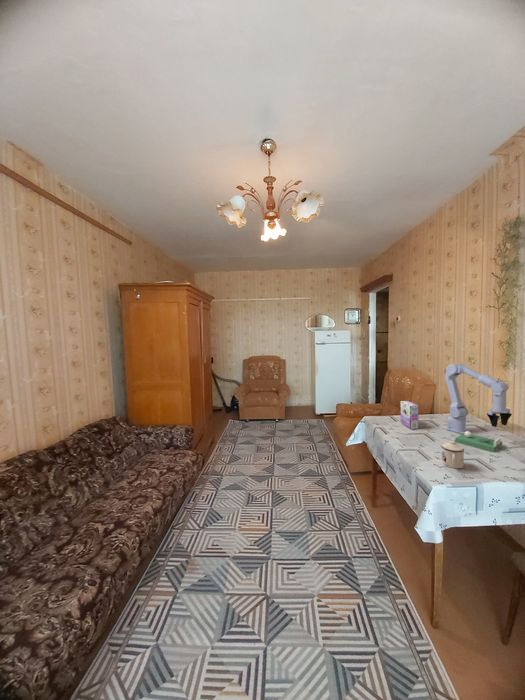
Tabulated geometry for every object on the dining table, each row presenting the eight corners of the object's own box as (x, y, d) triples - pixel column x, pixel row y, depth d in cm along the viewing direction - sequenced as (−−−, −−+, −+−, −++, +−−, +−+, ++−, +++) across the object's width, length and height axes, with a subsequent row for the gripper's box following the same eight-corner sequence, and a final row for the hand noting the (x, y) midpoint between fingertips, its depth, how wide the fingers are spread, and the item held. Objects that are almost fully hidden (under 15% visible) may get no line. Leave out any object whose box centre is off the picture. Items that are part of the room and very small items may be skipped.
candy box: (419, 429, 184) (418, 405, 183) (410, 429, 184) (410, 405, 184) (408, 422, 198) (408, 400, 197) (400, 423, 198) (400, 400, 197)
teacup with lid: (441, 459, 141) (441, 436, 140) (463, 462, 136) (463, 439, 136) (442, 469, 131) (442, 445, 130) (465, 473, 126) (465, 448, 125)
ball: (463, 437, 162) (463, 431, 162) (465, 435, 164) (465, 429, 164) (470, 438, 159) (470, 432, 159) (472, 437, 161) (472, 431, 161)
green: (455, 442, 161) (455, 434, 161) (464, 436, 169) (464, 428, 169) (495, 452, 146) (495, 443, 146) (503, 445, 154) (503, 437, 154)
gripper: (497, 405, 152) (497, 429, 153) (516, 403, 155) (516, 426, 156) (484, 402, 159) (484, 425, 159) (502, 400, 162) (502, 422, 163)
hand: (499, 425), depth 158 cm, fingers open, 7 cm apart
